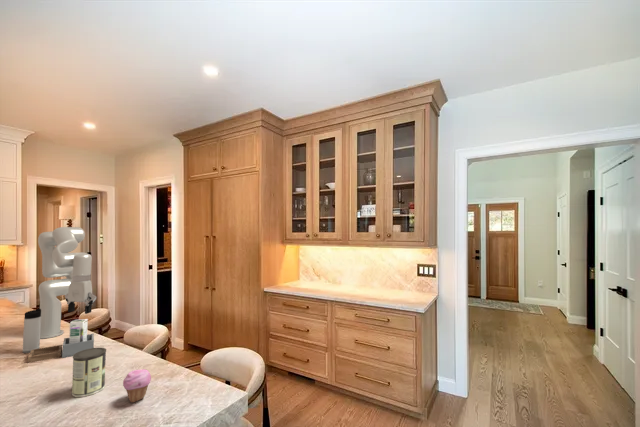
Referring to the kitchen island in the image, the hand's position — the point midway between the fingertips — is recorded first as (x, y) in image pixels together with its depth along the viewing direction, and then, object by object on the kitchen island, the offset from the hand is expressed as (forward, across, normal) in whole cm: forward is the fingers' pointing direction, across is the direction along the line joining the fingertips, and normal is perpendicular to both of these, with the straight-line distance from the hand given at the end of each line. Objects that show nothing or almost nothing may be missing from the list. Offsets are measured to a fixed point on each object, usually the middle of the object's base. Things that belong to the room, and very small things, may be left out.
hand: (79, 312), depth 157 cm
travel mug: (+20, -23, -3) cm, 31 cm away
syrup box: (+18, +1, 0) cm, 19 cm away
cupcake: (+17, +62, -36) cm, 74 cm away
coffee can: (+18, +39, -33) cm, 54 cm away
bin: (+19, +1, -1) cm, 19 cm away
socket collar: (+19, -9, -8) cm, 23 cm away
